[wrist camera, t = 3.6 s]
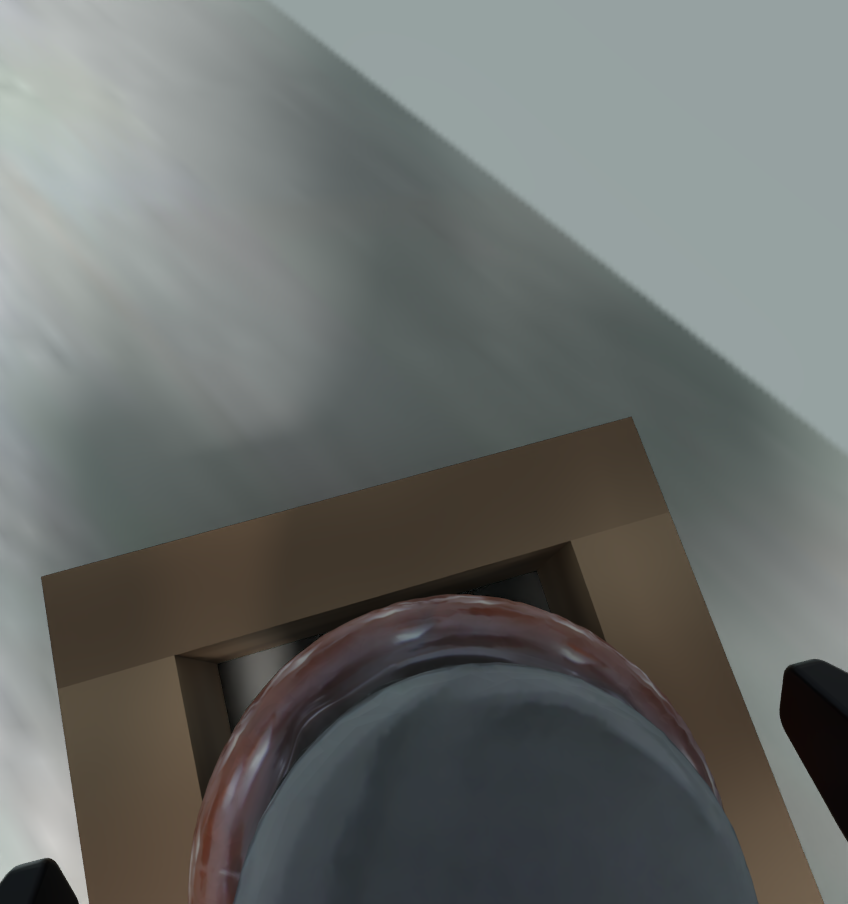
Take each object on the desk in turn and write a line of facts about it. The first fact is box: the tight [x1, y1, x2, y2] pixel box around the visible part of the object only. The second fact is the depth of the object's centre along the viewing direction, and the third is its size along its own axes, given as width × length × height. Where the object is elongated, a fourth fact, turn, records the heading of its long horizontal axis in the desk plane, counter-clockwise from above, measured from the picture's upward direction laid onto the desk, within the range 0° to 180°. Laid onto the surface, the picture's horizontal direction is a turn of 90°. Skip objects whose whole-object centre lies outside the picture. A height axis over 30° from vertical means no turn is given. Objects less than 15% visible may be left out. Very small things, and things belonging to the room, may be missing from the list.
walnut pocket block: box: [41, 417, 824, 904], centre depth 15 cm, size 11×11×4 cm
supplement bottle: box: [188, 594, 759, 904], centre depth 11 cm, size 6×6×11 cm
